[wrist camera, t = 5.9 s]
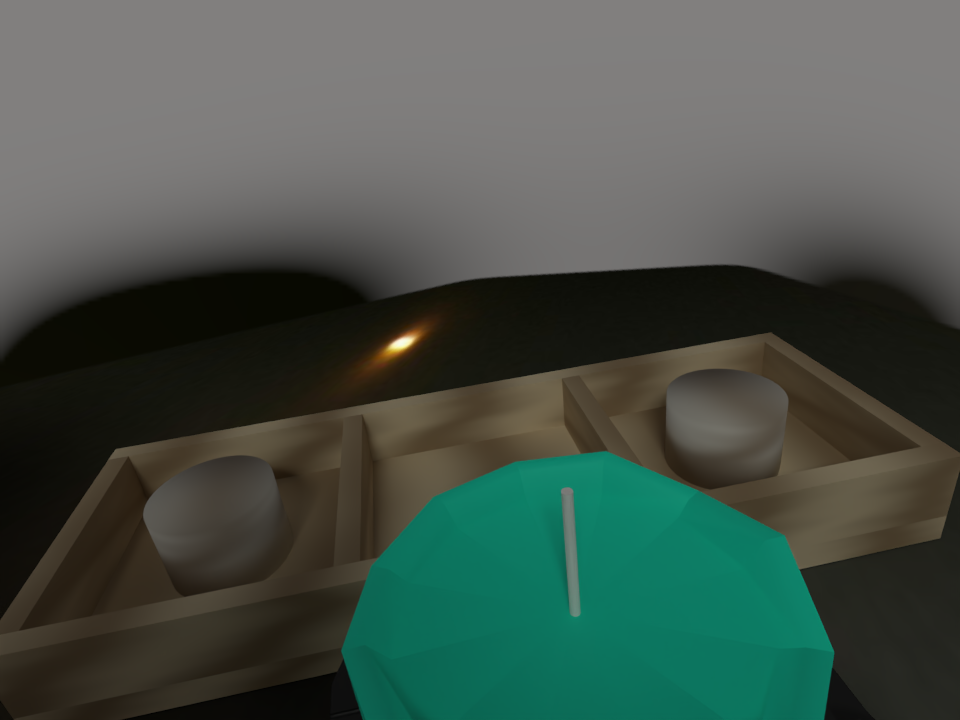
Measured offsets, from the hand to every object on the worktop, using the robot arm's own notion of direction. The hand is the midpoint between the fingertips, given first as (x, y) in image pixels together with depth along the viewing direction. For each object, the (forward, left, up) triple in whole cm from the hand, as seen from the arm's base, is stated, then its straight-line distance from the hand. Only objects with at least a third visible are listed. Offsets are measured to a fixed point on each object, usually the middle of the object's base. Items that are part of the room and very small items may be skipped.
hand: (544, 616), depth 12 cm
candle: (+2, -2, -7) cm, 8 cm away
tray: (-7, +9, -7) cm, 13 cm away
